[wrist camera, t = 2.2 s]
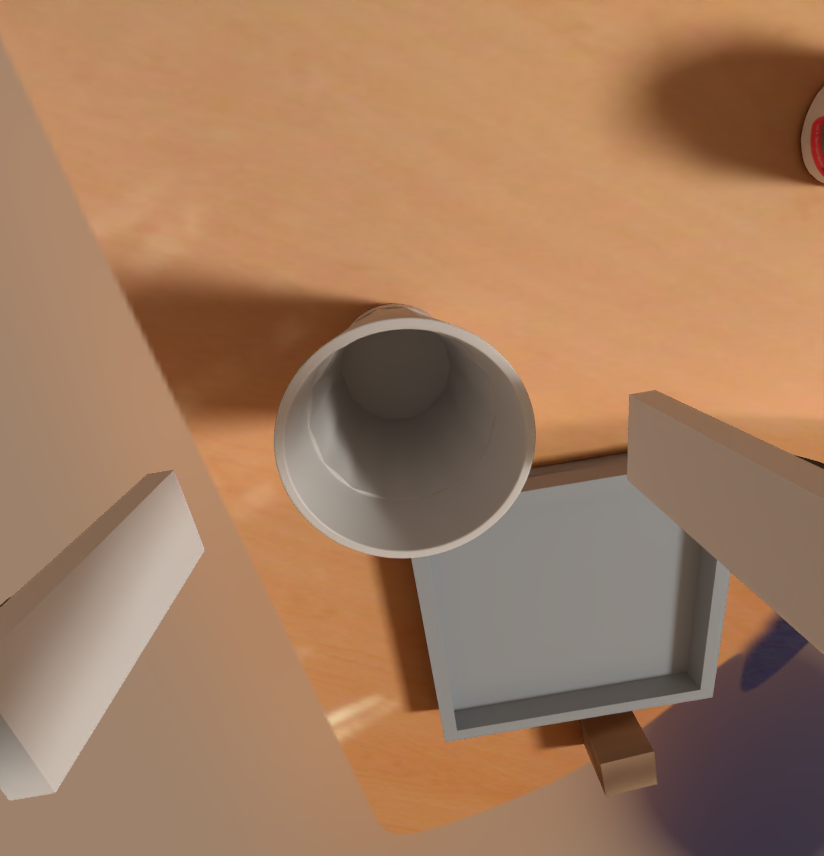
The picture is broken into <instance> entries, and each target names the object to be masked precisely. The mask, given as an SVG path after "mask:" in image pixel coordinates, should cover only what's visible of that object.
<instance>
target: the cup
mask: <svg viewBox="0 0 824 856" xmlns="http://www.w3.org/2000/svg"><path fill="white" fill-rule="evenodd" d="M535 442H536V429H535V419H534V413H533V409H532V405H531V402H530V399H529V396H528V393H527V391H526V389H525V387H524V385H523V383H522V381H521V379H520V378H519V376H518V374H517V373H516V371H515V370H514V369H513V367H512V366H511V365H510V363H509V362H508V361H507V360H506V359H505V358H504V357H503V356H502V355H501V354H500V353H499V352H498V351H497V350H496V349H495V348H494V347H492V346H491V345H490V344H488V343H487V342H486V341H484V340H483V339H481V338H480V337H478V336H476V335H475V334H473V333H471V332H469V331H467V330H465V329H462V328H460V327H458V326H455V325H452V324H449V323H446V322H443V321H440V320H437V319H434V318H432V317H431V316H430V315H429V314H427V313H426V312H424V311H422V310H420V309H418V308H415V307H413V306H409V305H404V304H386V305H381V306H378V307H375V308H372V309H370V310H368V311H366V312H365V313H363V314H362V315H360V316H359V317H358V318H357V319H356V320H355V321H354V322H353V323H352V324H351V325H350V326H349V328H347V329H346V330H345V331H344V332H342V333H341V334H339V335H338V336H336V337H335V338H333V339H332V340H330V341H329V342H327V343H326V344H324V345H323V346H322V347H320V348H319V349H318V350H317V351H316V352H315V353H313V354H312V355H311V356H310V357H309V358H308V359H307V360H306V361H305V363H304V364H303V365H302V366H301V367H300V369H299V370H298V371H297V373H296V374H295V375H294V377H293V378H292V380H291V382H290V383H289V385H288V387H287V389H286V391H285V393H284V395H283V398H282V400H281V403H280V406H279V409H278V413H277V417H276V422H275V430H274V452H275V459H276V464H277V468H278V472H279V475H280V478H281V481H282V483H283V486H284V488H285V490H286V492H287V494H288V495H289V497H290V499H291V500H292V502H293V504H294V505H295V506H296V508H297V509H298V510H299V512H300V513H301V514H302V515H303V516H304V517H305V518H306V519H307V520H308V521H309V522H310V523H311V524H312V525H313V526H314V527H315V528H316V529H318V530H319V531H320V532H321V533H323V534H324V535H326V536H327V537H329V538H330V539H332V540H334V541H336V542H337V543H339V544H341V545H343V546H346V547H348V548H350V549H353V550H356V551H359V552H362V553H365V554H369V555H374V556H379V557H386V558H417V557H425V556H430V555H435V554H439V553H442V552H446V551H448V550H451V549H454V548H456V547H459V546H461V545H463V544H465V543H467V542H469V541H471V540H473V539H474V538H476V537H477V536H479V535H481V534H482V533H483V532H485V531H486V530H487V529H489V528H490V527H491V526H492V525H494V524H495V523H496V522H497V521H498V520H499V519H500V518H501V517H502V516H503V515H504V514H505V513H506V512H507V510H508V509H509V508H510V507H511V505H512V504H513V503H514V501H515V500H516V498H517V497H518V495H519V494H520V492H521V490H522V488H523V486H524V484H525V482H526V480H527V477H528V475H529V472H530V469H531V465H532V462H533V457H534V451H535Z"/></svg>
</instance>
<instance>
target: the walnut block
mask: <svg viewBox="0 0 824 856" xmlns="http://www.w3.org/2000/svg"><path fill="white" fill-rule="evenodd" d="M580 724H581V730H582V735H583V740H584V745H585V747H586V750H587V752H588V754H589V757H590V759H591V762H592V764H593V766H594V769H595V771H596V774H597V776H598V778H599V781H600V783H601V786H602V788H603V791H604V793H605V795H606V796H609V795H614V794H618V793H622V792H626V791H630V790H635V789H639V788H643V787H647V786H651V785H655V784H657V777H656V766H655V756H654V750H653V749H652V747H651V745H650V743H649V741H648V739H647V738H646V736H645V734H644V732H643V730H642V729H641V727H640V725H639V723H638V721H637V719H636V718H635V716H634V714H633V712H632V711H627V712H621V713H615V714H609V715H603V716H597V717H591V718H586V719H580Z"/></svg>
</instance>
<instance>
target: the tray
mask: <svg viewBox="0 0 824 856" xmlns="http://www.w3.org/2000/svg"><path fill="white" fill-rule="evenodd" d="M627 461H628V453H622V454H616V455H610V456H604V457H598V458H591V459H585V460H579V461H573V462H567V463H561V464H555V465H549V466H543V467H537V468H531V469H530V472H529V475H528V477H527V480H526V482H525V484H524V486H523V488H522V490H521V492H520V494H519V495H518V497H517V498H516V500H515V501H514V503H513V504H512V505H511V507H510V508H509V509H508V510H507V512H506V513H505V514H504V515H503V516H502V517H501V518H500V519H499V520H498V521H497V522H496V523H495V524H494V525H492V526H491V527H490V528H489V529H487V530H486V531H485V532H483V533H482V534H481V535H479V536H477V537H476V538H474V539H473V540H471V541H469V542H467V543H465V544H463V545H461V546H459V547H456V548H454V549H451V550H448V551H446V552H442V553H439V554H435V555H430V556H425V557H417V558H411V560H412V566H413V571H414V576H415V582H416V587H417V593H418V598H419V603H420V609H421V614H422V619H423V625H424V630H425V636H426V641H427V646H428V652H429V657H430V662H431V668H432V673H433V679H434V684H435V689H436V695H437V700H438V706H439V711H440V716H441V722H442V727H443V732H444V738H445V742H449V741H455V740H461V739H467V738H472V737H478V736H484V735H490V734H496V733H502V732H508V731H514V730H520V729H526V728H532V727H538V726H544V725H550V724H556V723H562V722H568V721H574V720H580V719H586V718H591V717H597V716H603V715H609V714H615V713H621V712H627V711H633V710H639V709H645V708H651V707H657V706H663V705H669V704H675V703H680V702H687V701H692V700H699V699H704V698H711V697H713V691H714V684H715V677H716V670H717V663H718V656H719V649H720V642H721V635H722V628H723V621H724V614H725V608H726V601H727V594H728V587H729V580H730V573H731V572H730V571H729V570H728V569H727V568H726V567H725V566H723V565H722V564H721V563H720V562H719V561H718V560H717V559H716V558H714V557H713V556H712V555H711V554H710V553H709V552H708V551H707V550H705V549H704V548H703V547H702V546H701V545H700V544H699V543H698V542H696V541H695V540H694V539H693V538H692V537H691V536H690V535H689V534H688V533H686V532H685V531H684V530H683V529H682V528H681V527H680V526H679V525H677V524H676V523H675V522H674V521H673V520H672V519H671V518H670V517H668V516H667V515H666V514H665V513H664V512H663V511H662V510H661V509H659V508H658V507H657V506H656V505H655V504H654V503H653V502H652V501H650V500H649V499H648V498H647V497H646V496H645V495H644V494H643V493H641V492H640V491H639V490H638V489H637V488H636V487H635V486H634V485H632V484H631V483H630V482H629V481H628V480H627Z"/></svg>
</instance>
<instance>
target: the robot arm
mask: <svg viewBox="0 0 824 856" xmlns="http://www.w3.org/2000/svg"><path fill="white" fill-rule="evenodd" d="M627 480H628V481H629V482H630V483H631V484H632V485H634V486H635V487H636V488H637V489H638V490H639V491H640V492H641V493H643V494H644V495H645V496H646V497H647V498H648V499H649V500H650V501H652V502H653V503H654V504H655V505H656V506H657V507H658V508H659V509H661V510H662V511H663V512H664V513H665V514H666V515H667V516H668V517H670V518H671V519H672V520H673V521H674V522H675V523H676V524H677V525H679V526H680V527H681V528H682V529H683V530H684V531H685V532H686V533H688V534H689V535H690V536H691V537H692V538H693V539H694V540H695V541H696V542H698V543H699V544H700V545H701V546H702V547H703V548H704V549H705V550H707V551H708V552H709V553H710V554H711V555H712V556H713V557H714V558H716V559H717V560H718V561H719V562H720V563H721V564H722V565H723V566H725V567H726V568H727V569H728V570H729V571H730V572H731V573H732V574H734V575H735V576H736V577H737V578H738V579H739V580H740V581H741V582H743V583H744V584H745V585H746V586H747V587H748V588H749V589H750V590H752V591H753V592H754V593H755V594H756V595H757V596H758V597H759V598H761V599H762V600H763V601H764V602H765V603H766V604H767V605H768V606H770V607H771V608H772V609H773V610H774V611H775V612H776V613H777V614H779V615H780V616H781V617H782V618H783V619H784V620H785V621H786V622H788V623H789V624H790V625H791V626H792V627H793V628H794V629H795V630H797V631H798V632H799V633H800V634H801V635H802V636H803V637H804V638H806V639H807V640H808V641H809V642H810V643H811V644H812V645H813V646H815V647H816V648H817V649H818V650H819V651H820V652H821V653H822V654H824V464H823V463H821V462H818V461H814V460H810V459H807V458H803V457H799V456H796V455H792V454H790V453H788V452H786V451H784V450H782V449H780V448H778V447H775V446H773V445H771V444H769V443H767V442H765V441H763V440H761V439H758V438H756V437H754V436H752V435H750V434H748V433H746V432H743V431H741V430H739V429H737V428H735V427H733V426H731V425H729V424H726V423H724V422H722V421H720V420H718V419H716V418H714V417H711V416H709V415H707V414H705V413H703V412H701V411H699V410H697V409H694V408H692V407H690V406H688V405H686V404H684V403H682V402H680V401H677V400H675V399H673V398H671V397H669V396H667V395H665V394H662V393H660V392H658V391H656V390H654V391H648V392H642V393H636V394H630V395H629V421H628V461H627ZM204 550H205V549H204V547H203V544H202V542H201V539H200V536H199V534H198V531H197V529H196V526H195V523H194V521H193V519H192V516H191V513H190V510H189V508H188V505H187V503H186V500H185V497H184V495H183V492H182V490H181V488H180V484H179V482H178V479H177V477H176V474H175V472H174V470H170V471H164V472H159V473H152V474H147V475H146V476H145V477H144V478H143V479H142V480H141V481H139V482H138V483H137V484H136V485H135V486H134V487H133V488H132V489H130V491H128V492H127V493H126V494H125V495H124V496H123V497H122V498H121V499H120V500H118V501H117V502H116V503H115V504H114V505H113V506H112V507H111V508H110V509H108V510H107V511H106V512H105V513H104V514H103V515H102V516H101V517H100V518H98V519H97V521H95V522H94V523H93V524H92V525H91V526H90V527H88V528H87V529H86V530H85V531H84V532H83V533H82V534H81V535H80V536H79V537H78V538H76V539H75V540H74V541H73V542H72V543H71V544H70V545H69V546H67V547H66V548H65V549H64V550H63V551H62V552H61V553H60V554H59V555H58V556H56V557H55V558H54V559H53V560H52V561H51V562H50V563H49V564H48V565H46V566H45V567H44V568H43V569H42V570H41V571H40V572H39V573H38V574H36V575H35V576H34V577H33V578H32V579H31V580H30V581H29V582H28V583H27V584H26V585H24V587H22V588H21V589H20V590H19V591H18V592H17V593H15V594H14V595H13V596H12V597H10V598H9V599H7V600H6V601H5V602H4V603H3V604H1V605H0V789H1V790H2V791H3V793H4V794H5V795H6V797H7V798H8V799H9V801H10V800H16V799H22V798H28V797H34V796H40V795H45V794H52V793H56V791H57V789H58V788H59V786H60V784H61V783H62V781H63V780H64V778H65V776H66V775H67V773H68V771H69V770H70V768H71V767H72V765H73V763H74V762H75V760H76V758H77V757H78V755H79V754H80V752H81V750H82V748H83V747H84V745H85V744H86V742H87V740H88V739H89V737H90V736H91V734H92V732H93V731H94V729H95V728H96V726H97V724H98V722H99V721H100V719H101V718H102V716H103V715H104V713H105V711H106V710H107V708H108V706H109V705H110V703H111V701H112V700H113V698H114V697H115V695H116V693H117V692H118V690H119V689H120V687H121V685H122V684H123V682H124V680H125V679H126V677H127V676H128V674H129V672H130V671H131V669H132V667H133V666H134V664H135V662H136V661H137V659H138V658H139V656H140V654H141V653H142V651H143V650H144V648H145V646H146V645H147V643H148V641H149V640H150V638H151V636H152V635H153V633H154V631H155V630H156V628H157V627H158V625H159V624H160V622H161V620H162V618H163V617H164V615H165V614H166V612H167V610H168V608H169V607H170V606H171V604H172V602H173V601H174V599H175V598H176V596H177V594H178V593H179V591H180V589H181V588H182V586H183V585H184V583H185V581H186V580H187V578H188V576H189V575H190V573H191V572H192V570H193V568H194V566H195V565H196V563H197V562H198V560H199V558H200V557H201V555H202V554H203V552H204Z"/></svg>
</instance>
